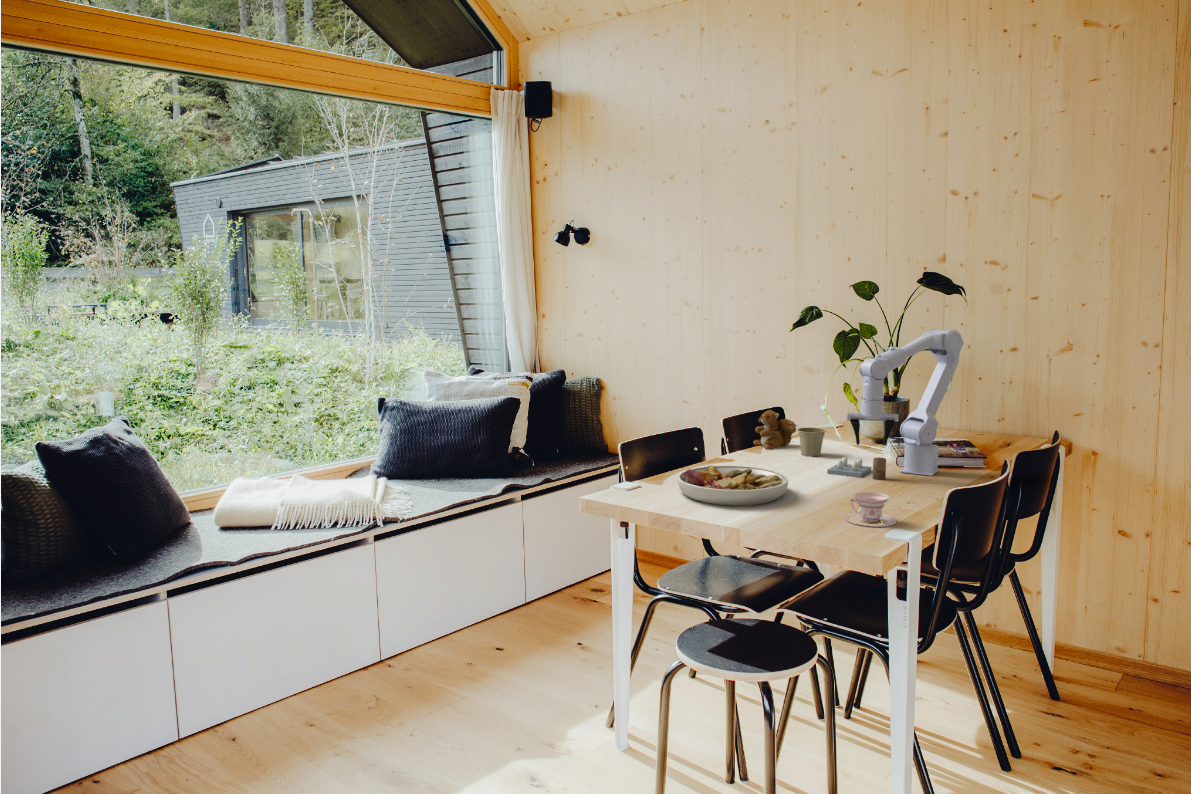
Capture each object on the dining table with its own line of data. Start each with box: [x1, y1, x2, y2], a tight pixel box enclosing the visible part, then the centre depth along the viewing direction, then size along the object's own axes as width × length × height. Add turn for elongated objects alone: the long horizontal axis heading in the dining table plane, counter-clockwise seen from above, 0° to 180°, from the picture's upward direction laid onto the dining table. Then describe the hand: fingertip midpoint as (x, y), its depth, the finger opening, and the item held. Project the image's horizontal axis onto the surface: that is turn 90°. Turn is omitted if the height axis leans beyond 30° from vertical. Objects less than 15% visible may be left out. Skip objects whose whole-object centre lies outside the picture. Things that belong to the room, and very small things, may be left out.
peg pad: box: [827, 457, 872, 478], centre depth 252 cm, size 10×11×4 cm
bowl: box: [677, 464, 789, 506], centre depth 227 cm, size 30×30×8 cm
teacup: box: [844, 491, 897, 528], centre depth 200 cm, size 12×12×6 cm
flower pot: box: [796, 426, 827, 457], centre depth 277 cm, size 9×9×9 cm
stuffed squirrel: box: [752, 409, 797, 450], centre depth 293 cm, size 10×14×13 cm
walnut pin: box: [872, 457, 887, 481], centre depth 242 cm, size 4×4×6 cm
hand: (871, 444), depth 245 cm, fingers open, 7 cm apart
